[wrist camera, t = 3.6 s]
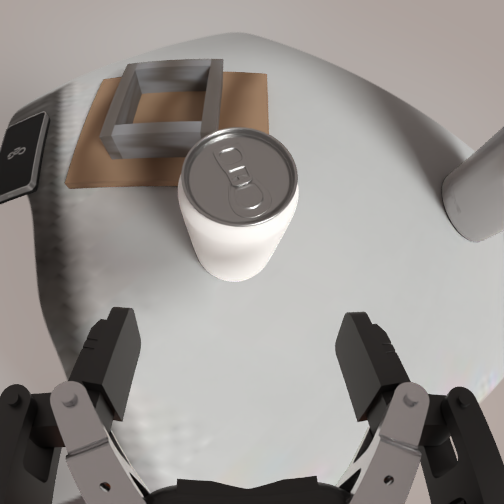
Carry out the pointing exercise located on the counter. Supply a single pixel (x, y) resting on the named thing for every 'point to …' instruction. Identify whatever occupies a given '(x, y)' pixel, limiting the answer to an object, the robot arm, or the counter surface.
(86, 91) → the counter surface
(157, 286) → the counter surface
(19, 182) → the external hard drive
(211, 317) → the counter surface
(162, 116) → the socket board
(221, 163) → the can
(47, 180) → the counter surface
